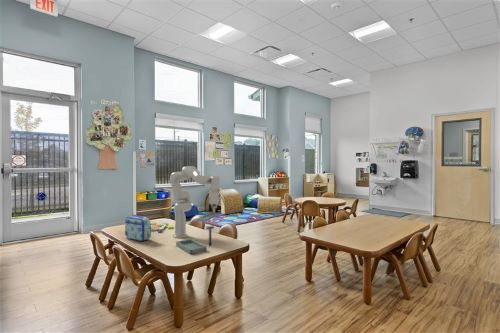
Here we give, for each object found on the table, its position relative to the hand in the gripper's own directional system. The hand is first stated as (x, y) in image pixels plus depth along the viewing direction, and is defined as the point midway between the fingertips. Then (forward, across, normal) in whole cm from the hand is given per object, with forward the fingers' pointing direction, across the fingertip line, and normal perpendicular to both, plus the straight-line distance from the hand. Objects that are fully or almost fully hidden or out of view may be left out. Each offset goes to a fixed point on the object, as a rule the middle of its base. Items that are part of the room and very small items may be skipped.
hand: (214, 211), depth 232 cm
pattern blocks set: (+28, +82, -8) cm, 87 cm away
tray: (+27, +8, +21) cm, 35 cm away
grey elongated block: (+3, 0, +8) cm, 9 cm away
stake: (+27, -1, +7) cm, 28 cm away
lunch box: (+28, +66, +26) cm, 77 cm away
